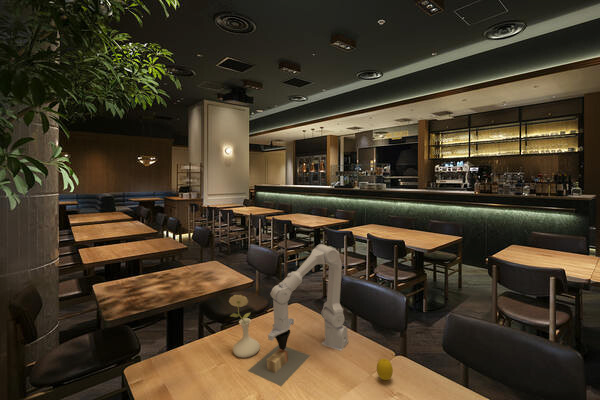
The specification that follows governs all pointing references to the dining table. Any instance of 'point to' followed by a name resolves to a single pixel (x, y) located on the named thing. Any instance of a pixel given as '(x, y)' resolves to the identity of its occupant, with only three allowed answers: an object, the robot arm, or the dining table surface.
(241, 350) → the flower in vase
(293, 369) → the rubber mat
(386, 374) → the lemon
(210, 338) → the dining table surface
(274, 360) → the maple block
